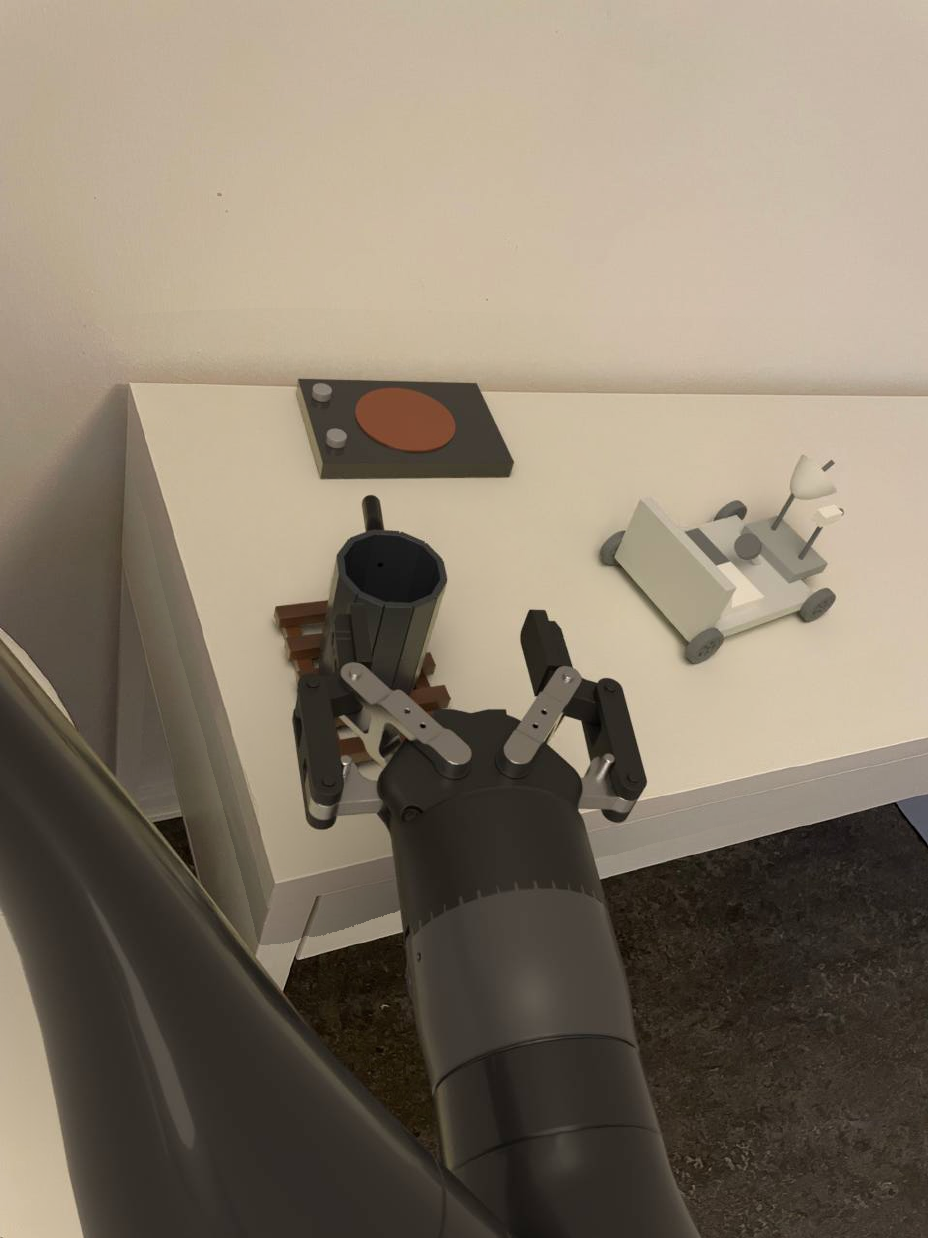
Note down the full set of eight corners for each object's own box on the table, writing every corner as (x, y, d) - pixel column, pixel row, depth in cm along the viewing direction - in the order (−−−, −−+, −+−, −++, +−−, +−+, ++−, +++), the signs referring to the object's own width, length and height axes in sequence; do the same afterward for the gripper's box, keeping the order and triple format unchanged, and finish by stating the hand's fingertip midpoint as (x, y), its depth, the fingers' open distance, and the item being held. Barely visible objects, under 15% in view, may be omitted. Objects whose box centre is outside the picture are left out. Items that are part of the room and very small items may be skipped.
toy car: (804, 425, 83) (909, 519, 77) (753, 517, 90) (846, 609, 84) (636, 464, 74) (740, 572, 68) (594, 562, 81) (685, 668, 75)
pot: (423, 707, 64) (454, 609, 58) (321, 707, 63) (342, 605, 56) (400, 571, 72) (425, 471, 66) (309, 567, 71) (326, 464, 64)
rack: (269, 617, 69) (271, 596, 68) (394, 602, 73) (399, 582, 72) (326, 789, 61) (330, 770, 60) (464, 762, 65) (471, 744, 63)
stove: (320, 478, 80) (324, 454, 79) (295, 394, 87) (298, 369, 85) (509, 477, 86) (517, 454, 84) (472, 397, 93) (478, 374, 91)
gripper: (728, 888, 36) (611, 566, 47) (325, 906, 33) (297, 552, 43) (655, 980, 42) (564, 672, 52) (300, 1005, 38) (281, 667, 49)
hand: (443, 618), depth 48 cm, fingers open, 8 cm apart
